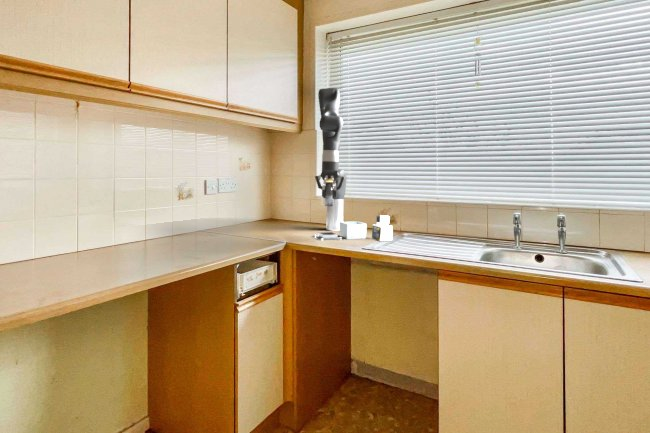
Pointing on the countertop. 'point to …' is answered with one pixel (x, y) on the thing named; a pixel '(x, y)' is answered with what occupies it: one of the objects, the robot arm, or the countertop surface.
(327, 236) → the mount
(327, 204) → the black and gold cylinder
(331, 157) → the robot arm
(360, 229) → the bin
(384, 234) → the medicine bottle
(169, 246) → the countertop surface
